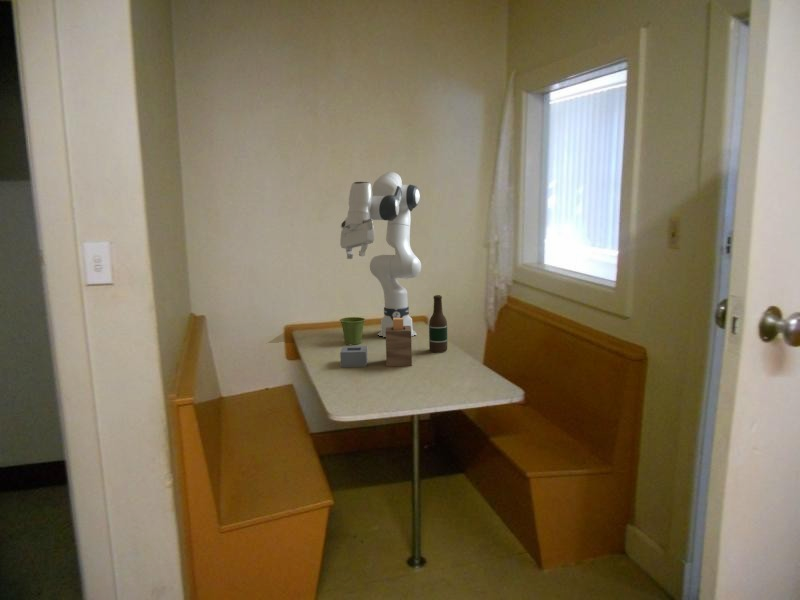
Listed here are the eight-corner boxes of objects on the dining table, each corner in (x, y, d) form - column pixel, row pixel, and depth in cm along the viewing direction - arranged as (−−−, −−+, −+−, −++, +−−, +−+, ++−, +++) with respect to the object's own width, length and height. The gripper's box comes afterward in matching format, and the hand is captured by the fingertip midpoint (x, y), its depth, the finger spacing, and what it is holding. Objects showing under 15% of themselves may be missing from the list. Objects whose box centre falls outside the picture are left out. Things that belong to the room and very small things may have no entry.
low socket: (343, 360, 245) (342, 346, 244) (367, 360, 245) (367, 345, 244) (340, 367, 236) (340, 352, 235) (366, 366, 236) (365, 351, 235)
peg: (393, 337, 240) (393, 318, 239) (403, 337, 240) (403, 317, 239) (393, 339, 237) (393, 319, 236) (403, 339, 237) (403, 319, 236)
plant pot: (363, 346, 268) (362, 322, 266) (337, 346, 270) (336, 321, 268) (368, 340, 280) (368, 316, 278) (344, 340, 282) (343, 316, 280)
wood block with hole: (387, 359, 245) (386, 326, 243) (411, 358, 245) (410, 325, 243) (386, 366, 235) (385, 331, 233) (411, 365, 235) (411, 330, 233)
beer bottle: (438, 353, 253) (437, 297, 249) (425, 350, 259) (424, 295, 255) (451, 350, 258) (450, 295, 254) (438, 347, 264) (438, 293, 260)
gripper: (379, 219, 224) (376, 255, 223) (352, 227, 241) (349, 261, 240) (365, 216, 221) (362, 252, 219) (338, 224, 238) (335, 259, 236)
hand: (355, 257), depth 230 cm, fingers open, 8 cm apart
